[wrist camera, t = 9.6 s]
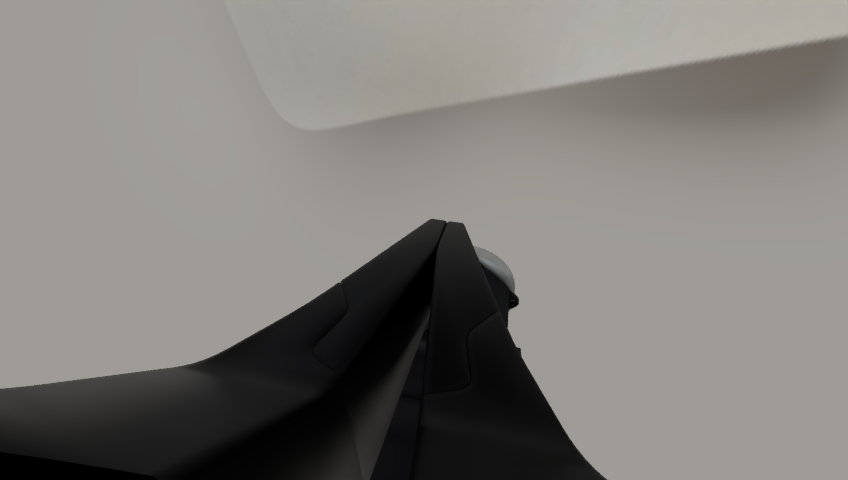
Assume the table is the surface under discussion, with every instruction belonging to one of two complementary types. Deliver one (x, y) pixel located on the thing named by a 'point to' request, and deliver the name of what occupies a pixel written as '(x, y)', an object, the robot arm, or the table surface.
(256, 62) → the table surface
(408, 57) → the table surface
